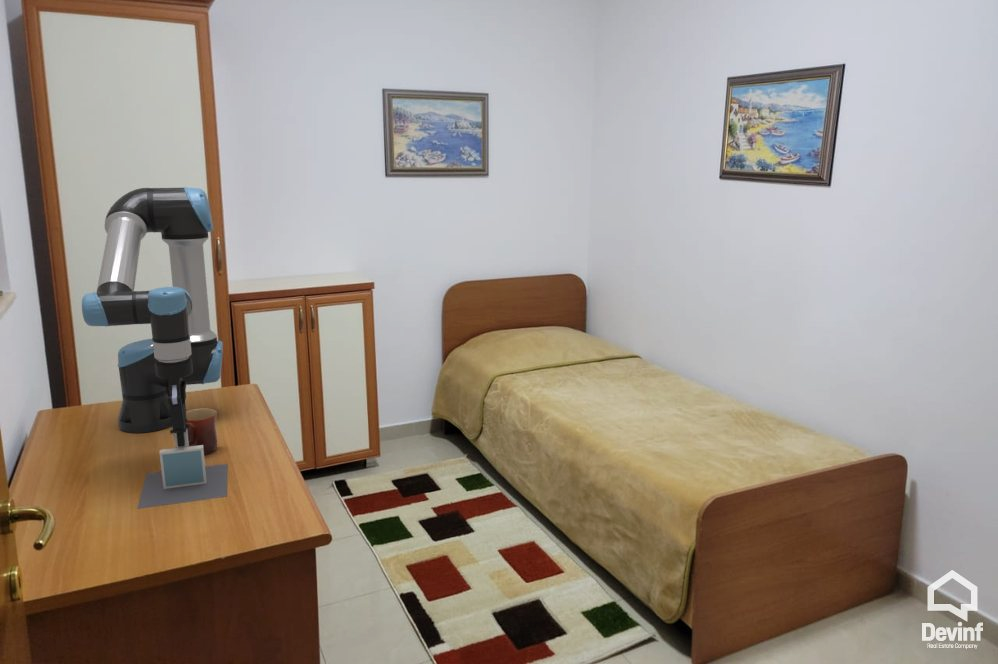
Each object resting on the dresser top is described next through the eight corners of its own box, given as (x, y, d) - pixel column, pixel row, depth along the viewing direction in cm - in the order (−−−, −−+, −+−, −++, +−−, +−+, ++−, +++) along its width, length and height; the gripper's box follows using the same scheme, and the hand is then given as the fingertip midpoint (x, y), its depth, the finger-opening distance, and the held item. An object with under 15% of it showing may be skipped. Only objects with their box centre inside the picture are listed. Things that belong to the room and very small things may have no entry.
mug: (197, 443, 190) (193, 406, 187) (227, 446, 188) (224, 409, 186) (168, 462, 178) (163, 423, 176) (200, 466, 177) (196, 426, 174)
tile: (164, 485, 165) (160, 449, 163) (206, 480, 168) (203, 444, 165) (163, 488, 164) (159, 452, 161) (206, 483, 167) (202, 448, 164)
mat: (146, 475, 171) (146, 473, 171) (227, 465, 177) (227, 463, 177) (137, 510, 155) (137, 508, 155) (227, 498, 161) (226, 496, 161)
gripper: (157, 351, 165) (167, 448, 170) (151, 367, 153) (162, 471, 158) (193, 349, 167) (202, 444, 173) (189, 364, 155) (199, 466, 161)
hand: (183, 457), depth 166 cm, fingers closed
